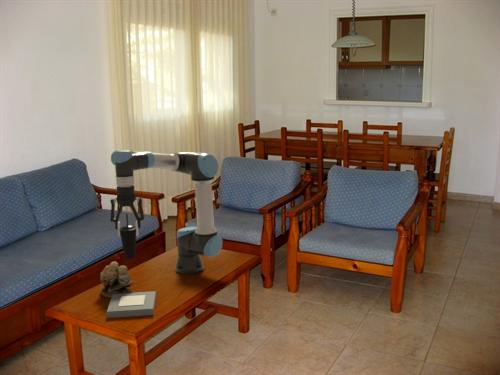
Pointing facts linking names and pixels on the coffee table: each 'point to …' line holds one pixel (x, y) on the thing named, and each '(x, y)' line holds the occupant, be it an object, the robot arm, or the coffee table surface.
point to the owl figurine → (115, 280)
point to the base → (132, 304)
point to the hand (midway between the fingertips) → (128, 235)
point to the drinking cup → (128, 240)
